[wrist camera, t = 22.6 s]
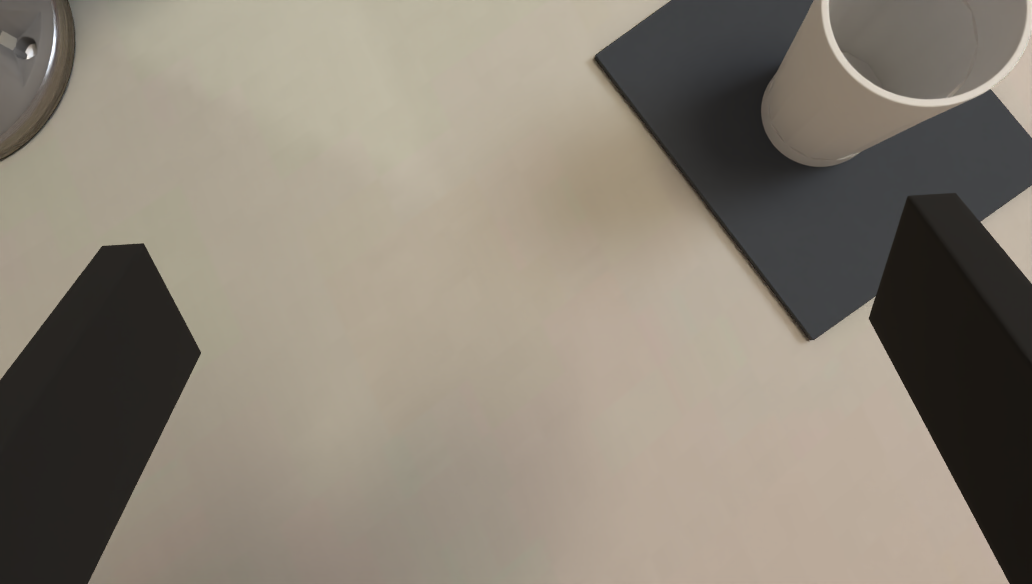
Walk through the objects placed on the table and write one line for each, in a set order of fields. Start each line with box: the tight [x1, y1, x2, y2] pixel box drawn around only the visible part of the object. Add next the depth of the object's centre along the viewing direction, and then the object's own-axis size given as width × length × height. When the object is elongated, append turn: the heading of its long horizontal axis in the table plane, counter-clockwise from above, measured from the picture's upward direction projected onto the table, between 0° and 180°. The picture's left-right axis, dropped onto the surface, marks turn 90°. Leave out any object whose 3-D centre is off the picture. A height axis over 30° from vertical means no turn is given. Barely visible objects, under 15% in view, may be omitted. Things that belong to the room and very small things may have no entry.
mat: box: [595, 0, 1032, 340], centre depth 40 cm, size 20×16×1 cm
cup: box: [761, 0, 1032, 167], centre depth 34 cm, size 8×8×12 cm
